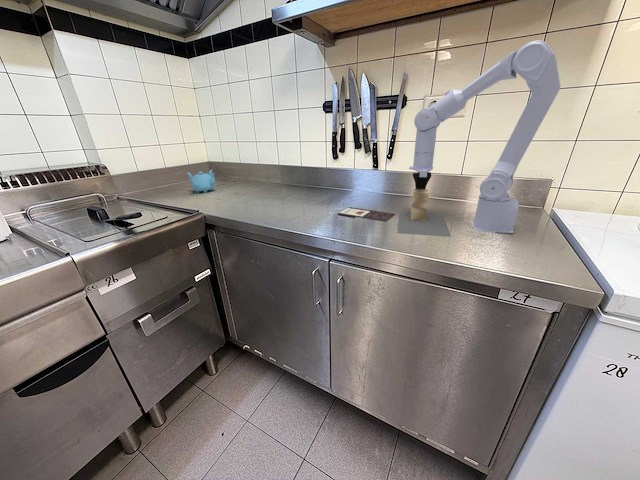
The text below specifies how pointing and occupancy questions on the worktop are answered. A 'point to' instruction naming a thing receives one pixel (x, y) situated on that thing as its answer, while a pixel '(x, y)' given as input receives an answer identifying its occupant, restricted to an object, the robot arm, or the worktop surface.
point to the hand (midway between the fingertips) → (419, 195)
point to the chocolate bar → (366, 214)
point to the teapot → (202, 181)
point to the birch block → (419, 204)
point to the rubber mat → (423, 225)
